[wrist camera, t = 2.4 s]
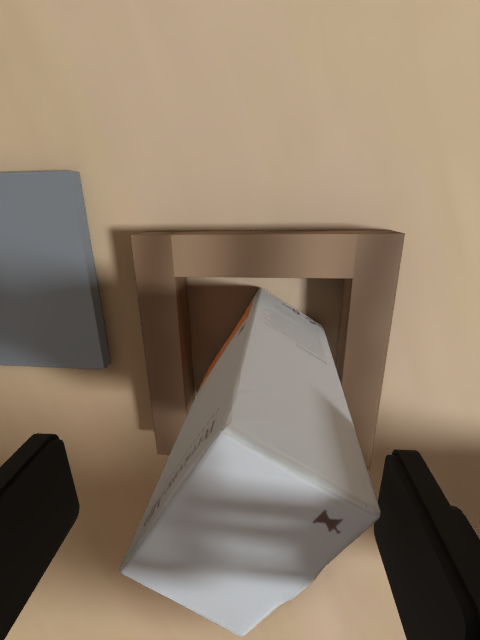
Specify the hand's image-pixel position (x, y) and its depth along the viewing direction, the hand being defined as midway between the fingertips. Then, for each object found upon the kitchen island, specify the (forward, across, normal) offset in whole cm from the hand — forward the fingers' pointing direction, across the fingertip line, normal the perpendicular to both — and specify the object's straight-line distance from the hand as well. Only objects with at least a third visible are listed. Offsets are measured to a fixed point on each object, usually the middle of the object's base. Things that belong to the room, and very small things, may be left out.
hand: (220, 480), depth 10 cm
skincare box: (+10, -1, 0) cm, 10 cm away
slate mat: (+11, +14, -4) cm, 18 cm away
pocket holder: (+10, -1, 0) cm, 10 cm away
